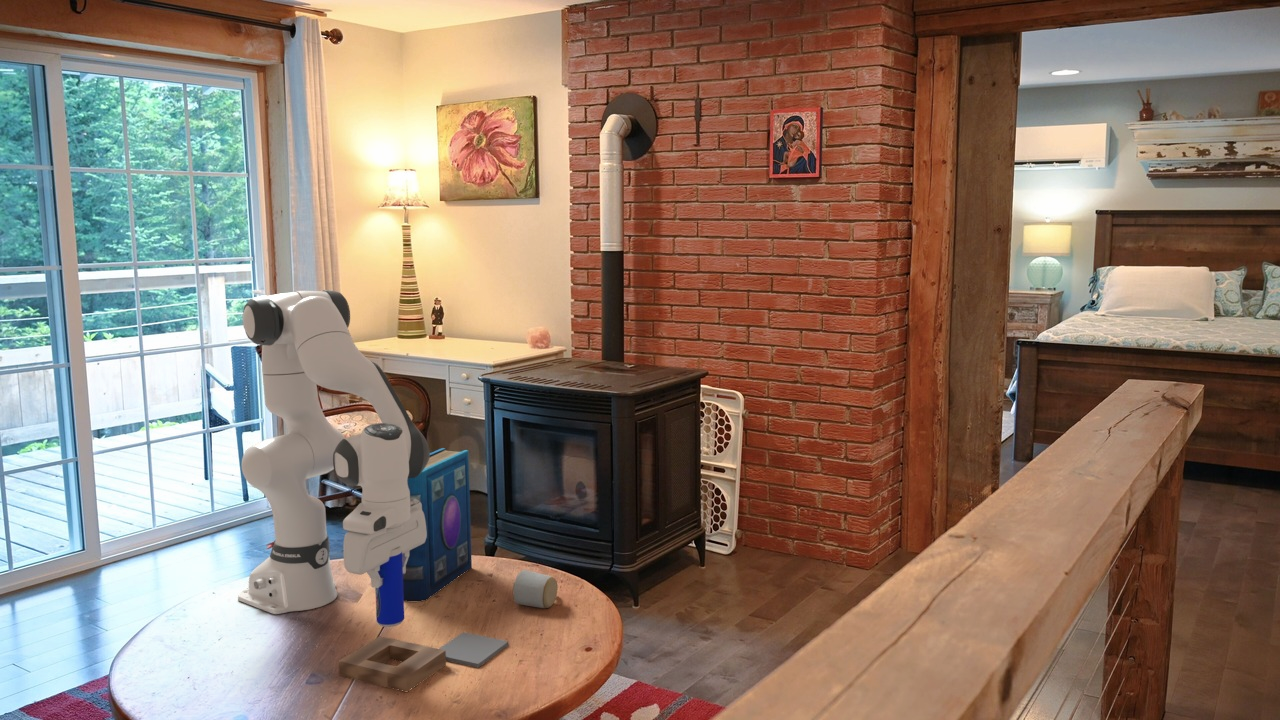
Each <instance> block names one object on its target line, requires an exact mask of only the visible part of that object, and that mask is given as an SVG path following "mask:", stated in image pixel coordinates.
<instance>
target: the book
mask: <svg viewBox="0 0 1280 720" xmlns="http://www.w3.org/2000/svg"><path fill="white" fill-rule="evenodd" d="M469 459H470V458H469V450H467V449H465V450H462V451H451V450H446V448H444V447H442V448H439V449H437V450H435V451H433V452H430V457H429V461H428V463H427V465H426V467H425V468H424V470H423V471H422V472H421V473H420V474H419V475H418V476H417V477H415V478H408V479H407V483H408V488H409V491H410V500H411V499H417V500H419V501H420V502H421V504H422V511H423V513H424V516H425V522H426V531H427V538H426V540H425V543H423V544H422V545H420V546H418V547H416V548H414V549H412V550H410V551H409V558H408V561H407V564H406V573H405V574H403V593H404V602H408V601H421V602H423V601H422V600H425V601H427V600H429V599H430V598H431V597H430V596H432V595H433V594H434V595H436V594H437V593H439V592H440V591H441V590H443V589H444V588H445V587H444V586H446V585H447V584H449V583H450V582H451V581H453V580H454V579H456V578H457V577H458V576H460V575H461V574H463V573H464V572H466V571H467V570H468V571H470V570H471V569H472V567H473V566H472V564H473V563H472V561H473V560H472V533H471V532H472V531H471V530H472V529H471V526H472V525H471V499H470V498H471V497H470V495H471V494H470V492H471V490H470V471H469V470H470V463H469V462H470V461H469ZM469 569H470V570H469ZM468 571H467V572H468ZM467 572H466V573H467ZM464 574H465V573H464ZM464 574H463V575H464ZM461 576H462V575H461ZM461 576H460V577H461ZM458 578H459V577H458ZM458 578H457V579H458ZM457 579H456V580H457ZM454 581H455V580H454ZM454 581H453V582H454ZM451 583H452V582H451ZM451 583H450V584H451ZM450 584H449V585H450ZM447 586H448V585H447ZM447 586H446V587H447ZM443 587H444V588H443ZM442 588H443V589H442ZM440 589H441V590H440ZM439 590H440V591H439ZM438 591H439V592H438ZM436 592H437V593H436ZM435 593H436V594H435ZM434 595H433V596H434ZM433 596H432V597H433ZM429 597H430V598H429ZM428 598H429V599H428ZM426 599H427V600H426Z"/></svg>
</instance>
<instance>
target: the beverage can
mask: <svg viewBox="0 0 1280 720" xmlns="http://www.w3.org/2000/svg"><path fill="white" fill-rule="evenodd" d="M378 573H379V575H380V576H381V577H383V578H384V581H383V582H384V584H383V586H381V587H379V588H374V589H375V610H376V611H375V613H376V616H375V617H376V623H377V624H378V625H379V626H380V627H384V628H391V627H392V628H393V627H397V626H399V625H401V624H402V623H403V621H404V619H405V601H404V593H403V565H402V550H401V547H398V548H397V549H395V550H392V551H390V556H389V561H388V562H386V563H384V564H382V565H380V570H379V571H378Z"/></svg>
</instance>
